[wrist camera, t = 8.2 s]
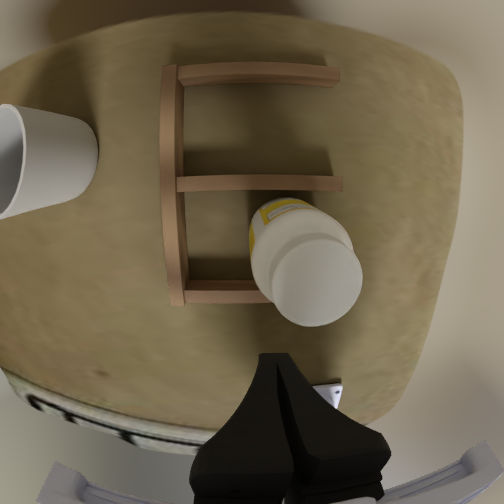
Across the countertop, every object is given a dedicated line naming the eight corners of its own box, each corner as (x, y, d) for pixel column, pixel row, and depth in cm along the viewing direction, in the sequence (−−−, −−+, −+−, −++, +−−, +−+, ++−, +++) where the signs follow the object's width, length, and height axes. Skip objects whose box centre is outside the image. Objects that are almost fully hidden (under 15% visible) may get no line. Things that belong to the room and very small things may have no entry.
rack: (327, 289, 22) (335, 303, 19) (178, 291, 22) (171, 305, 19) (331, 76, 17) (341, 65, 15) (171, 76, 17) (162, 65, 15)
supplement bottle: (292, 279, 22) (322, 357, 12) (234, 240, 20) (225, 303, 11) (334, 223, 20) (398, 269, 11) (277, 180, 19) (306, 192, 10)
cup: (104, 194, 19) (30, 211, 11) (26, 210, 19) (-40, 231, 11) (100, 108, 17) (30, 86, 9) (22, 138, 17) (-45, 138, 9)
